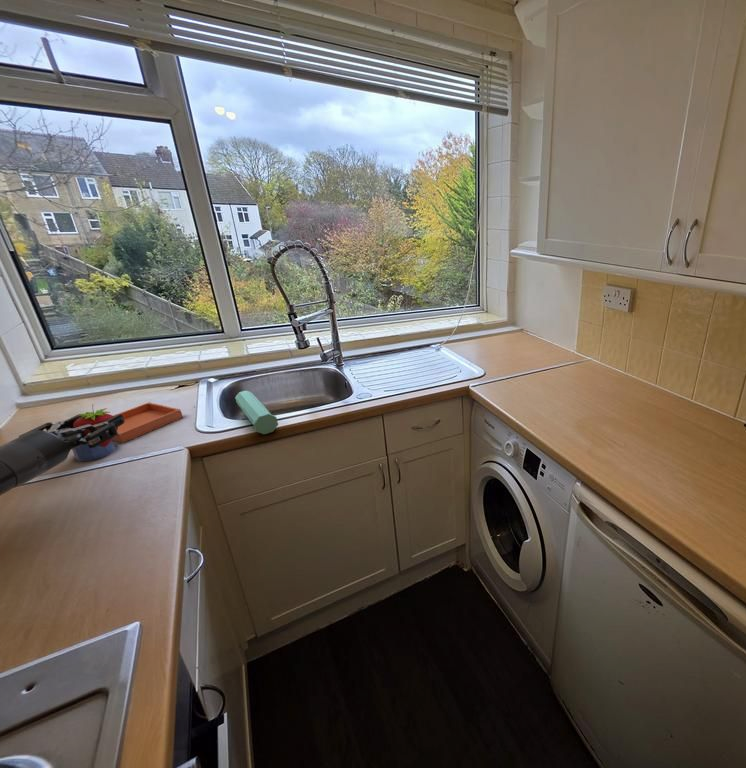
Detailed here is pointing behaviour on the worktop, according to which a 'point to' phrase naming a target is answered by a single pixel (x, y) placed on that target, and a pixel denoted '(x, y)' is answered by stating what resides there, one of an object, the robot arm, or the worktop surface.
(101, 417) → the strawberry
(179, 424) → the worktop surface
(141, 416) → the terracotta tray
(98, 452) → the blue cup
